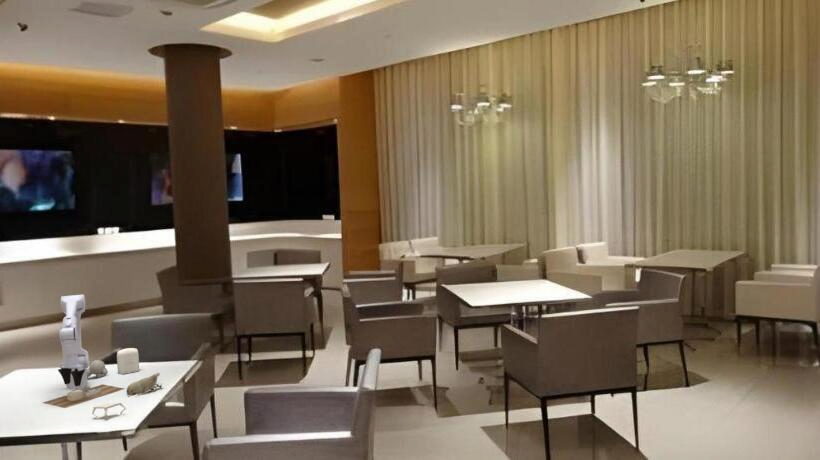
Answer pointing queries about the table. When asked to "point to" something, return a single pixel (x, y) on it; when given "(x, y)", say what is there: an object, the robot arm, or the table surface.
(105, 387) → the base board
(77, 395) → the plug
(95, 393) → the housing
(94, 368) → the round bodied animal figurine
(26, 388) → the table surface
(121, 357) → the photo printer
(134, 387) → the decorative bird
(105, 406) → the white arched legged piece
